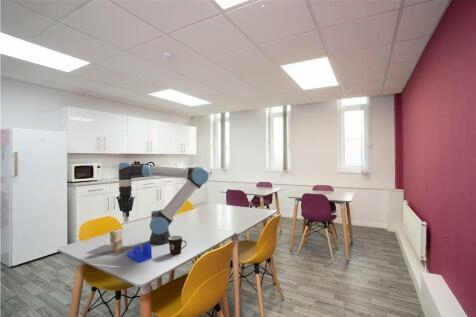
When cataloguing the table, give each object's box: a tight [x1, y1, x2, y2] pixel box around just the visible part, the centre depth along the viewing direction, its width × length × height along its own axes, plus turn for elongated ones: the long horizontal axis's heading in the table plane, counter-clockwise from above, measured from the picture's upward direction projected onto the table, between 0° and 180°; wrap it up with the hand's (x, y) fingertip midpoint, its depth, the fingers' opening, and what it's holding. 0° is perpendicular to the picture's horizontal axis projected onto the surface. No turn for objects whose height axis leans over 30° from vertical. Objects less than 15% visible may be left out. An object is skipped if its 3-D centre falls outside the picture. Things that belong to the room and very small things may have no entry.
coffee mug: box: [168, 235, 188, 256], centre depth 149 cm, size 12×9×10 cm
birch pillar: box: [109, 229, 123, 252], centre depth 157 cm, size 5×5×13 cm
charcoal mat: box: [86, 244, 133, 257], centre depth 158 cm, size 24×16×1 cm, turn 76°
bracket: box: [126, 242, 153, 264], centre depth 146 cm, size 18×8×9 cm, turn 49°
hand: (126, 221), depth 155 cm, fingers closed
